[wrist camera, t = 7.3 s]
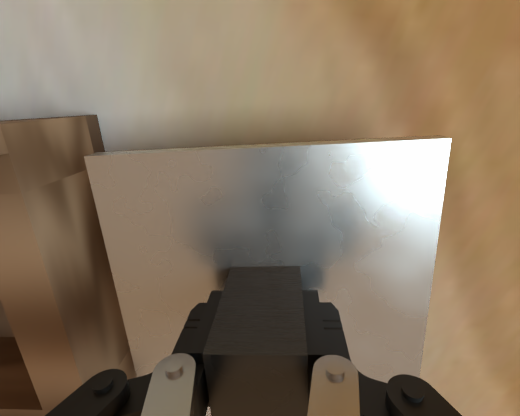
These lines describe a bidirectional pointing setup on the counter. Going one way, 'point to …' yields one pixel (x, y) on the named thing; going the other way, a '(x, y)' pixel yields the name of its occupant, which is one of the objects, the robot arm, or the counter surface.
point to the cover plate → (274, 255)
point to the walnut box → (53, 267)
